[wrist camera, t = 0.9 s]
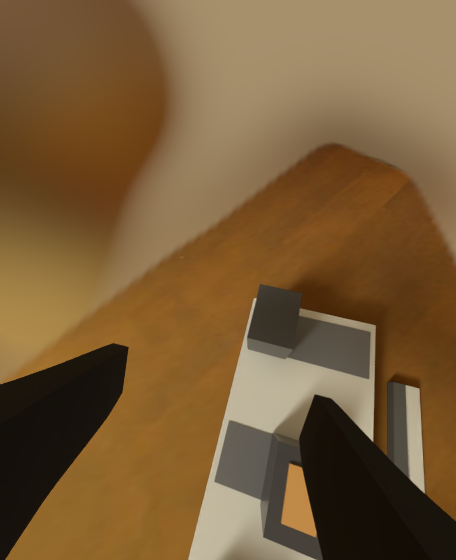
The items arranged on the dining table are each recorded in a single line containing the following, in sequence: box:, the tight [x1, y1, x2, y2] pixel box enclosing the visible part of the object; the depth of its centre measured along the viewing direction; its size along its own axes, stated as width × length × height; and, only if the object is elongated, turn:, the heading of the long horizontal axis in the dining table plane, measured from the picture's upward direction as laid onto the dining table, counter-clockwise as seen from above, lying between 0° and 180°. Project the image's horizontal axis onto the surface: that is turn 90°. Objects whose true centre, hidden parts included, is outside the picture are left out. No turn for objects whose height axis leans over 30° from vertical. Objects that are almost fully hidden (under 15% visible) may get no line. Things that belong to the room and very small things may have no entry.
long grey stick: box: [387, 382, 425, 493], centre depth 17 cm, size 16×2×1 cm, turn 164°
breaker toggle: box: [260, 432, 323, 560], centre depth 14 cm, size 4×3×4 cm
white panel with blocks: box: [188, 284, 376, 560], centre depth 15 cm, size 23×10×8 cm, turn 164°
